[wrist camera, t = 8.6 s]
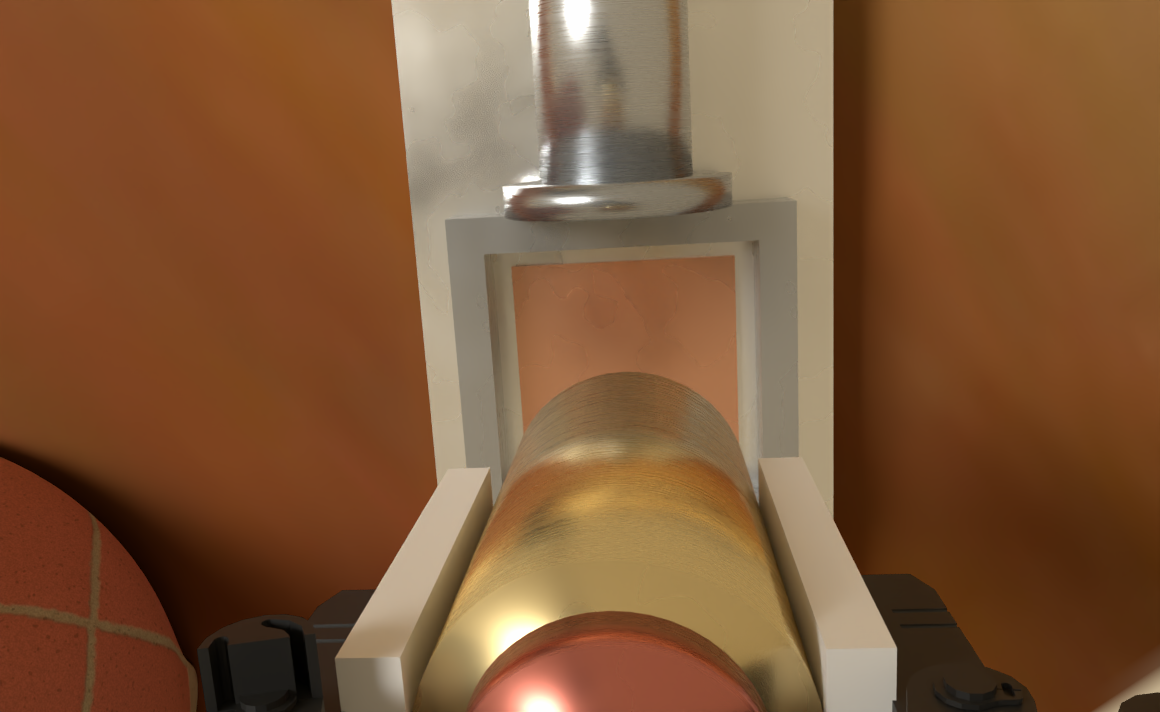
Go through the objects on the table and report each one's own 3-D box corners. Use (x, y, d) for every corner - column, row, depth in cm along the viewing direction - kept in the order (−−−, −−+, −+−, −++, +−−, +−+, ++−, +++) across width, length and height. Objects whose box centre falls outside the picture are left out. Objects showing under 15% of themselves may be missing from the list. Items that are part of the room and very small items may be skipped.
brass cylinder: (504, 376, 20) (370, 599, 10) (744, 366, 19) (843, 587, 10) (521, 596, 21) (413, 988, 11) (749, 591, 20) (842, 992, 11)
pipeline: (392, -116, 27) (319, -190, 21) (822, -150, 27) (879, -238, 20) (473, 757, 34) (435, 901, 27) (824, 752, 33) (869, 900, 26)
